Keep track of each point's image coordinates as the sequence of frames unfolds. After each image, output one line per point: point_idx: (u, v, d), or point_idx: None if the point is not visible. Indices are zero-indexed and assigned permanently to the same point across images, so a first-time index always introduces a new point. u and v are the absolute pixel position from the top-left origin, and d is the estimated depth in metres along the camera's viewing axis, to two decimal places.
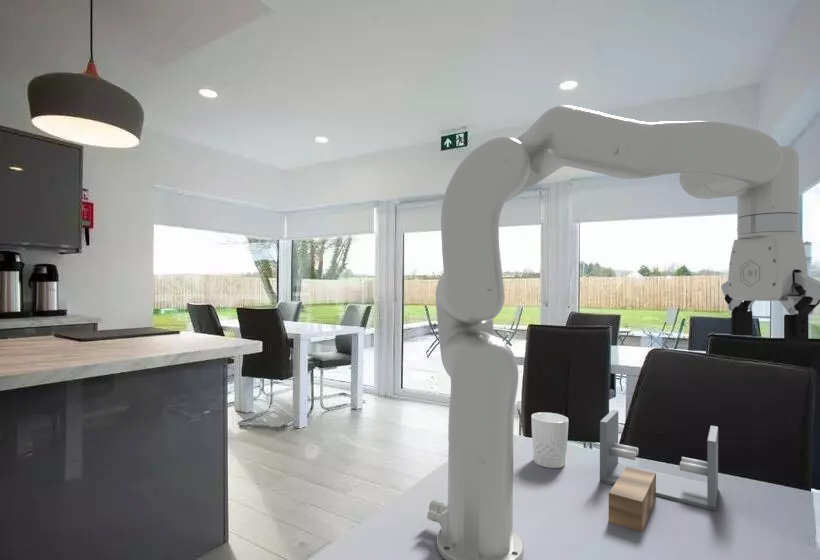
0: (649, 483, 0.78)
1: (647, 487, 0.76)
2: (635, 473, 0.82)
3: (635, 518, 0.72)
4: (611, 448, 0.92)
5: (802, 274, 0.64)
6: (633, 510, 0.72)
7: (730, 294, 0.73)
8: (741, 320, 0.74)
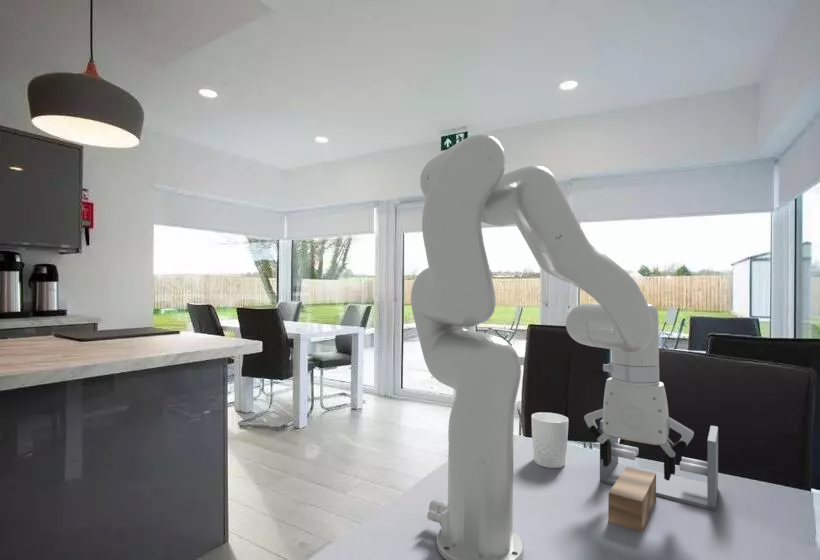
0: (649, 483, 0.78)
1: (647, 487, 0.76)
2: (635, 473, 0.82)
3: (635, 518, 0.72)
4: (611, 448, 0.92)
5: (673, 420, 0.75)
6: (633, 510, 0.72)
7: (608, 432, 0.79)
8: (608, 451, 0.81)
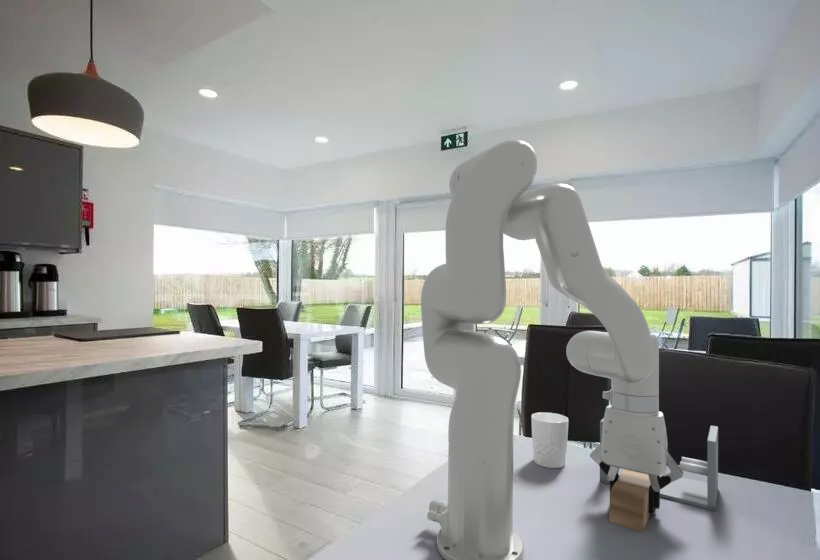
0: None
1: (648, 485, 0.76)
2: None
3: (636, 516, 0.72)
4: None
5: (669, 455, 0.75)
6: (634, 508, 0.72)
7: (606, 460, 0.79)
8: None
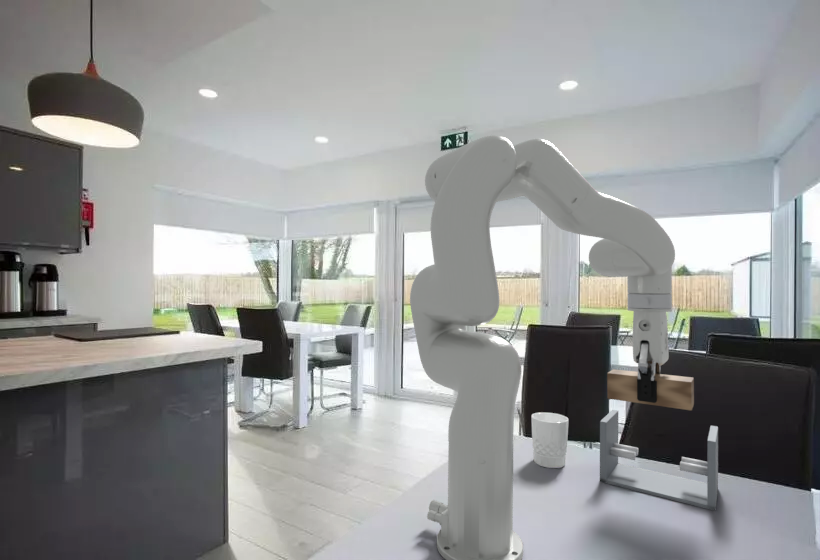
0: None
1: None
2: (622, 372, 0.88)
3: (693, 394, 0.83)
4: (611, 448, 0.92)
5: None
6: (693, 388, 0.82)
7: (662, 361, 0.81)
8: None
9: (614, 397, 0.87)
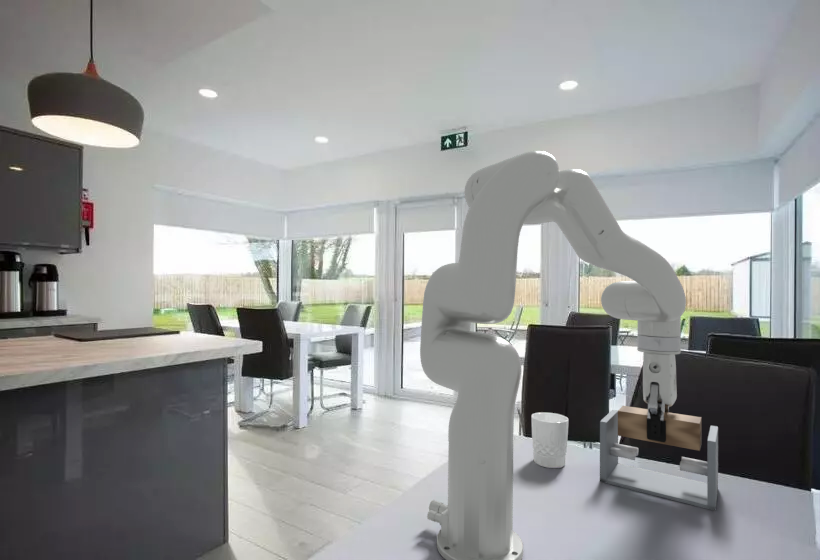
0: None
1: None
2: (632, 410, 0.91)
3: (701, 433, 0.86)
4: (611, 448, 0.92)
5: None
6: (701, 427, 0.85)
7: (672, 403, 0.84)
8: None
9: (624, 434, 0.90)
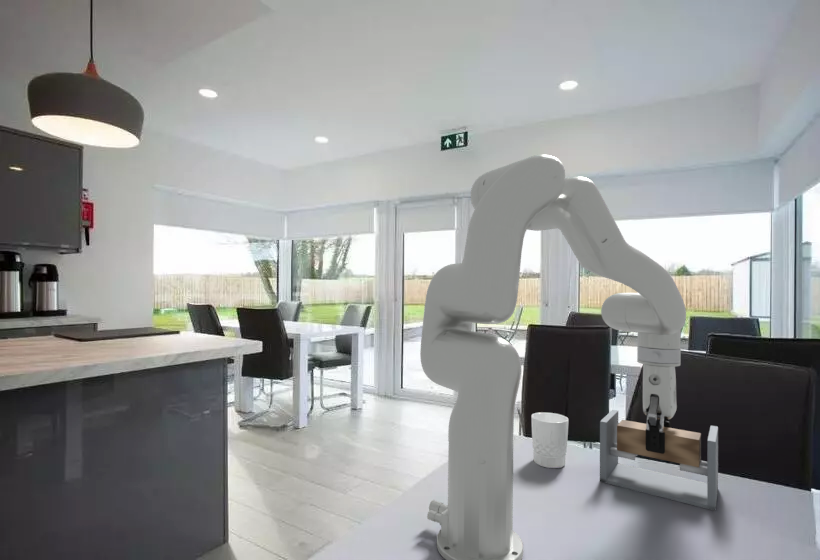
0: None
1: (663, 427, 0.90)
2: (631, 425, 0.91)
3: (700, 449, 0.85)
4: (611, 448, 0.92)
5: None
6: (700, 443, 0.85)
7: (671, 415, 0.84)
8: None
9: (623, 449, 0.90)
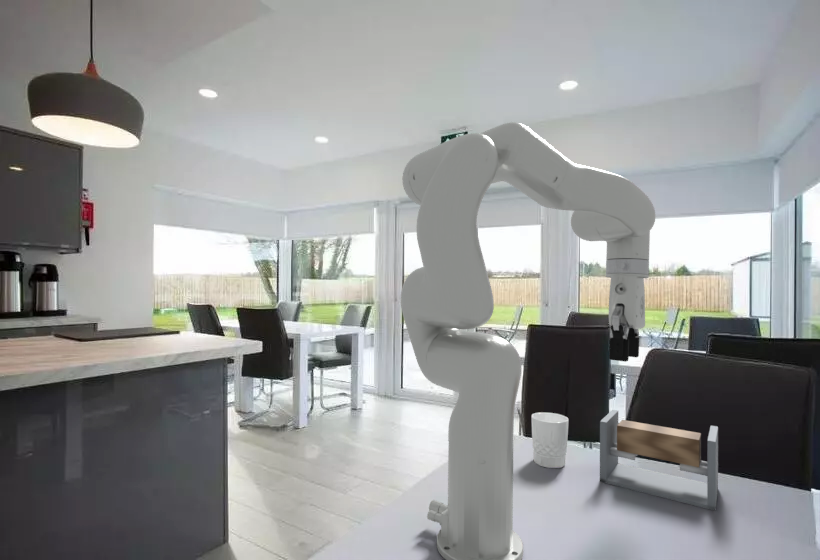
0: (652, 425, 0.91)
1: (663, 427, 0.90)
2: (631, 425, 0.91)
3: (700, 449, 0.85)
4: (611, 448, 0.92)
5: None
6: (700, 443, 0.85)
7: (637, 324, 0.82)
8: None
9: (623, 449, 0.90)
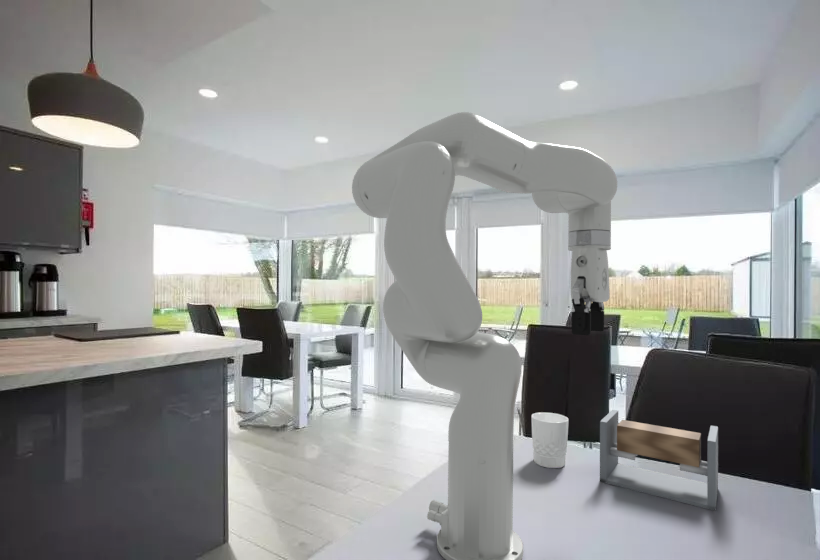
0: (652, 425, 0.91)
1: (663, 427, 0.90)
2: (631, 425, 0.91)
3: (700, 449, 0.85)
4: (611, 448, 0.92)
5: None
6: (700, 443, 0.85)
7: (598, 297, 0.80)
8: None
9: (623, 449, 0.90)
